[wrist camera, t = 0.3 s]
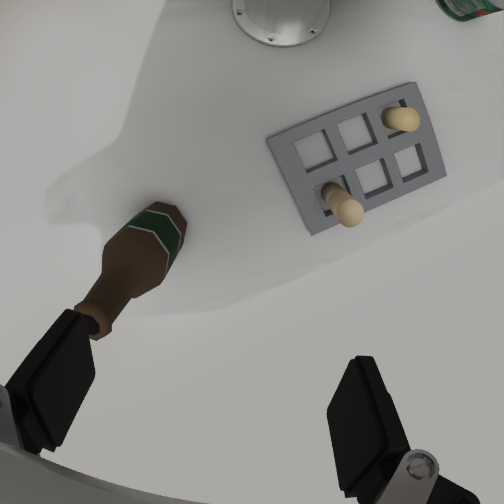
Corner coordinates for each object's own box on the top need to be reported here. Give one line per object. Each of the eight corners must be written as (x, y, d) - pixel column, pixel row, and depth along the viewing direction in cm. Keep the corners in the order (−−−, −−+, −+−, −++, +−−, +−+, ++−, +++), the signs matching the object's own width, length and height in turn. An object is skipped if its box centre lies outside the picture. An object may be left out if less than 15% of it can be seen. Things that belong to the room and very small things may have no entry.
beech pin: (337, 178, 42) (358, 196, 33) (345, 197, 43) (367, 220, 34) (317, 186, 43) (333, 207, 33) (325, 206, 44) (343, 231, 34)
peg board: (409, 82, 36) (429, 79, 30) (440, 173, 41) (461, 182, 35) (266, 139, 40) (267, 142, 35) (309, 230, 45) (315, 247, 40)
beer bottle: (154, 189, 43) (63, 264, 21) (199, 220, 45) (147, 323, 23) (128, 231, 46) (41, 326, 24) (171, 260, 47) (112, 375, 25)
